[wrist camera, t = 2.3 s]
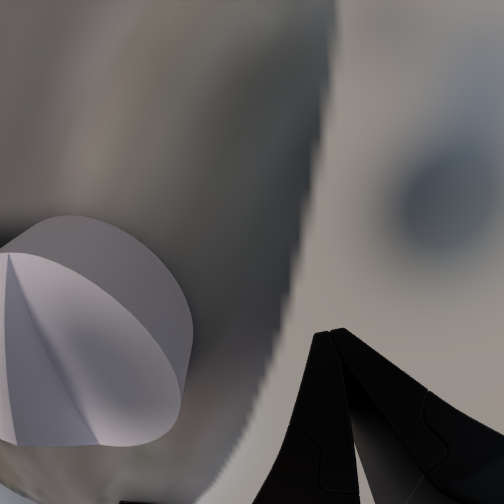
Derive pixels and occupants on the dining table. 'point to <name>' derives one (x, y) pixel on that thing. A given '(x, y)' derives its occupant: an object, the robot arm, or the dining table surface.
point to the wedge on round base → (89, 337)
